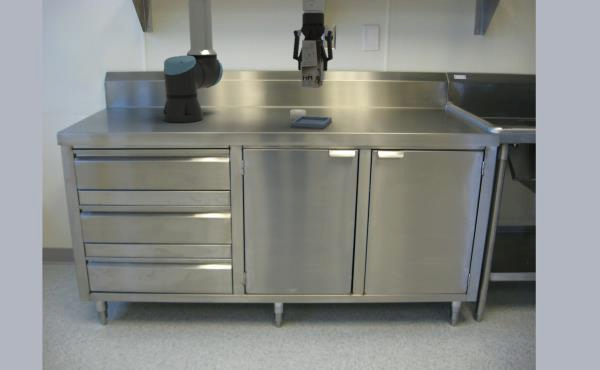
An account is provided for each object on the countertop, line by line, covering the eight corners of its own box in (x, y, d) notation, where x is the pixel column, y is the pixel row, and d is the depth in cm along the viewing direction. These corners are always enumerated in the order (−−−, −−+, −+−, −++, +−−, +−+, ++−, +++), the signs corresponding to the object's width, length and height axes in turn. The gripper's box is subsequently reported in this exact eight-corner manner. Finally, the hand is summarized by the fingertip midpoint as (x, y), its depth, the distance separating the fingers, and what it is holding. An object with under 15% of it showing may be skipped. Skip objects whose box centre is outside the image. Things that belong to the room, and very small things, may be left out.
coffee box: (319, 88, 175) (319, 40, 170) (301, 87, 176) (301, 39, 171) (323, 85, 183) (324, 39, 178) (306, 84, 184) (306, 39, 179)
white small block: (288, 120, 193) (288, 111, 192) (292, 117, 198) (292, 108, 197) (303, 121, 192) (303, 111, 190) (307, 118, 197) (307, 109, 196)
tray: (290, 127, 179) (290, 122, 178) (300, 120, 192) (300, 115, 191) (323, 129, 176) (323, 124, 175) (331, 122, 189) (331, 117, 188)
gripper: (282, 12, 171) (283, 80, 178) (339, 12, 166) (337, 82, 173) (289, 12, 178) (289, 78, 185) (343, 12, 173) (341, 80, 180)
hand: (312, 80), depth 179 cm, fingers closed on coffee box, 7 cm apart
